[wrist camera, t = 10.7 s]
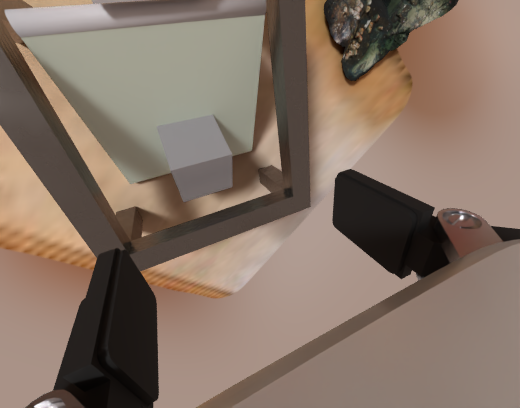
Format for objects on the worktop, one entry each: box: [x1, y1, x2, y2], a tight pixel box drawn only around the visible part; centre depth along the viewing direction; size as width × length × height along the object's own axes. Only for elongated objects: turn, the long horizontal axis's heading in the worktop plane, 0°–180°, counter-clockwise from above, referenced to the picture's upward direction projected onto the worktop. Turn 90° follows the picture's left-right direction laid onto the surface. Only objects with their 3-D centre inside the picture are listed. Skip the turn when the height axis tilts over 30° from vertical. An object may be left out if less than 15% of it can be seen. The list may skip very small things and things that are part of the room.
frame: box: [0, 0, 310, 271], centre depth 20 cm, size 20×20×9 cm
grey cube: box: [156, 115, 232, 202], centre depth 21 cm, size 5×5×5 cm
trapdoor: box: [5, 0, 266, 184], centre depth 17 cm, size 19×14×2 cm
